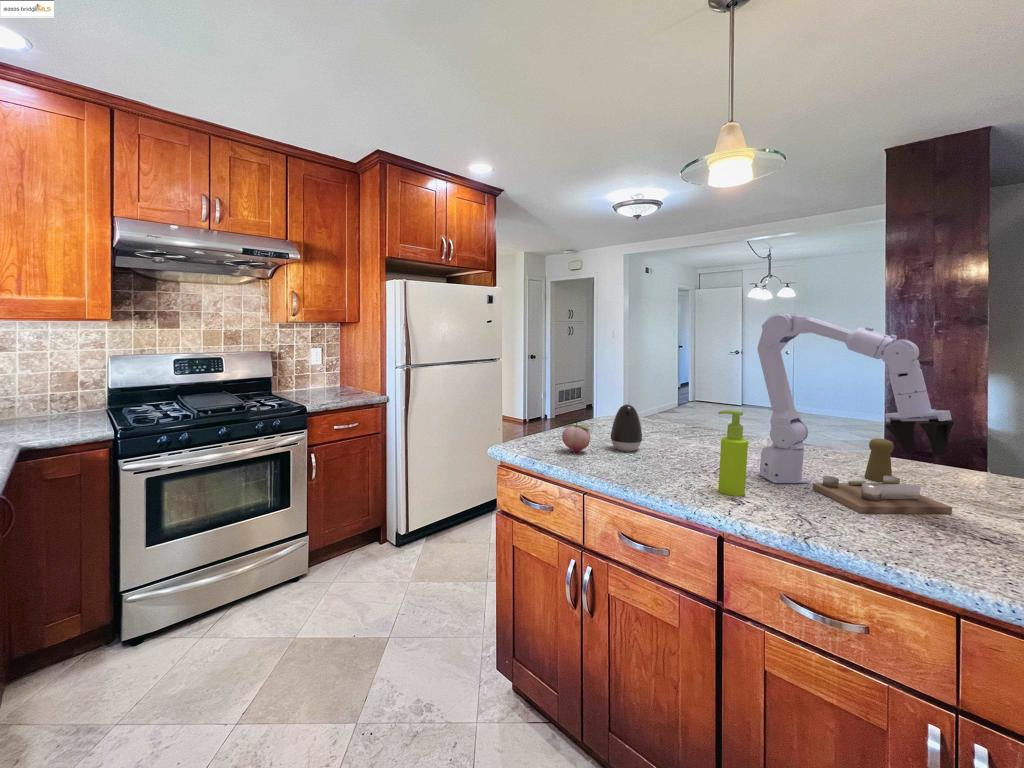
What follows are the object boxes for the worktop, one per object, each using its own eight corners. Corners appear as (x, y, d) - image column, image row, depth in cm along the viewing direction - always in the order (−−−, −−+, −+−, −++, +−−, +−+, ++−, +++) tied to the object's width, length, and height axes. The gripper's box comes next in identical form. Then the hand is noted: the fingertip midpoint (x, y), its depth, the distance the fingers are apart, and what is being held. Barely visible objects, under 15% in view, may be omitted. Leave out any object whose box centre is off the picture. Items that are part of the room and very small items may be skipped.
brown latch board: (860, 513, 101) (862, 497, 101) (812, 488, 117) (813, 475, 117) (952, 513, 101) (953, 498, 101) (891, 489, 118) (892, 475, 117)
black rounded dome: (610, 453, 151) (612, 406, 150) (609, 445, 161) (611, 401, 160) (643, 454, 150) (645, 407, 148) (640, 446, 160) (641, 402, 158)
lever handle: (869, 500, 104) (870, 487, 104) (857, 495, 108) (858, 482, 108) (923, 500, 104) (924, 487, 104) (909, 495, 108) (911, 482, 108)
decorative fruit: (593, 450, 154) (594, 420, 153) (587, 456, 147) (587, 425, 146) (566, 447, 158) (566, 418, 157) (558, 453, 150) (559, 422, 149)
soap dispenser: (716, 485, 119) (721, 408, 117) (746, 491, 115) (751, 411, 113) (711, 492, 114) (716, 411, 112) (742, 497, 111) (747, 414, 108)
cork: (897, 483, 122) (901, 442, 121) (871, 482, 123) (875, 441, 122) (884, 476, 128) (888, 437, 127) (859, 475, 129) (862, 436, 128)
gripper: (958, 387, 97) (975, 452, 96) (900, 392, 111) (914, 449, 110) (925, 392, 97) (941, 457, 96) (871, 397, 111) (885, 454, 110)
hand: (924, 453), depth 103 cm, fingers open, 7 cm apart
